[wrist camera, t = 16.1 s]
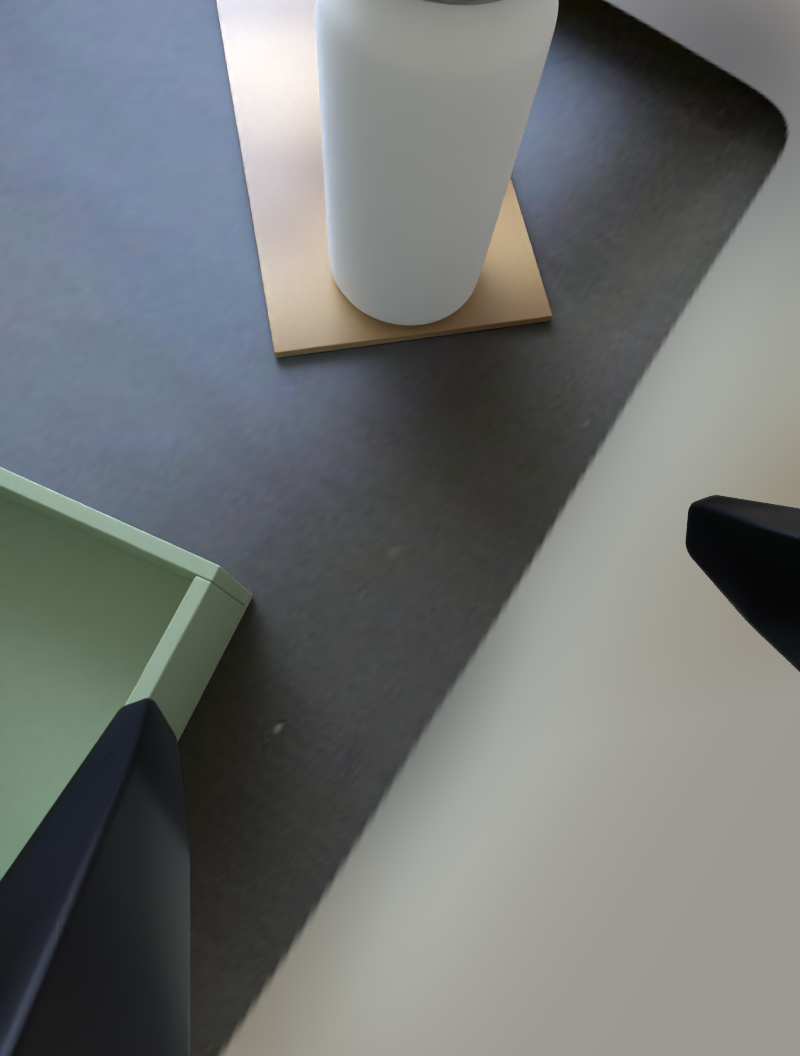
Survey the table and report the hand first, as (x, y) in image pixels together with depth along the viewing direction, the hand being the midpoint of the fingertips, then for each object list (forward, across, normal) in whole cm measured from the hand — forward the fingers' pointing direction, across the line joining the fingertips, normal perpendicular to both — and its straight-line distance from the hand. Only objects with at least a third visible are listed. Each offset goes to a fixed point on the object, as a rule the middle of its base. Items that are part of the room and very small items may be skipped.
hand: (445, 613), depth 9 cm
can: (+20, -6, -2) cm, 20 cm away
